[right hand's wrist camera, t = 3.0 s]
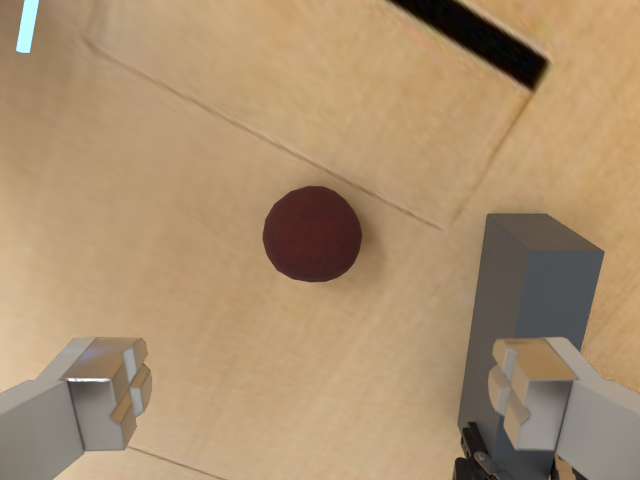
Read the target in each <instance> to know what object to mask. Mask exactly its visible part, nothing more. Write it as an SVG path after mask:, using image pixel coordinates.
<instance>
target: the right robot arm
mask: <svg viewBox="0 0 640 480" xmlns="http://www.w3.org/2000/svg"><path fill="white" fill-rule="evenodd" d="M38 2H39V0H25V2H24V8H23V14H22V20H21V25H20V31H19V37H18V43H17V49H16V50H17V51H19V52H25V53H29V52H30V47H31V41H32V35H33V30H34V24H35V19H36V13H37V7H38ZM147 355H148V352H147V347H146V342H145V341H144V340H143V339H142V338H115V337H99V338H98V337H78V338H74V339H72V340H71V341H70V342H69V343H68V345H67V346H66V347H65V348H64V349H63V350H62V351H61V352H60V353H59V354H58V355H57V357H56V358H55V359H54V360H53V361H52V362H51V363H50V364H49V365H48V366H47V367H46V368H45V370H44V371H43V372H42V373H41V374H40V375H39V376H38V377H37V378H36V379H35V380H27V381H25V382H23V383H21V384H19V385H17V386H15V387H13V388H10V389H8V390H6V391H4V392H2V393H0V480H52V479H54V478H55V477H56V476H57V475H59V474H60V473H61V472H62V471H63V470H65V469H66V468H67V467H68V466H70V465H71V464H72V463H73V462H74V461H76V460H77V459H78V458H79V457H81V456H82V455H83V454H84V451H114V450H125V449H126V447H127V445H128V443H129V441H130V439H131V437H132V435H133V433H134V431H135V429H136V427H137V425H136V419H135V418H136V417H138V416H139V415H141V414H142V413H143V412H145V409H146V407H147V405H148V403H149V400H150V395H151V391H152V377H151V370H150V369H149V368H148V367H147V366H146V365H145V364H144V363H143V362H144V360H145V358H146V357H147ZM492 355H493V357H494V358H495V360H496V362H497V363H496V364H495V365H494V366H493V367H492V368H491V369H490V370H489V378H488V389H489V396H490V400H491V403H492V405H493V407H494V410H495V412H497V413H498V414H499V415H501V416H502V417H504V418H505V419H504V425H503V427H504V429H505V431H506V433H507V435H508V437H509V439H510V441H511V443H512V445H513V447H514V448H515V450H525V451H556V454H557V455H558V456H560V457H561V458H562V459H563V460H565V461H566V462H567V463H568V464H569V465H571V466H572V467H573V468H574V469H575V470H577V471H578V472H579V473H580V474H582V475H583V476H584V477H585V478H586V479H588V480H640V393H638V392H636V391H634V390H632V389H629V388H627V387H625V386H623V385H621V384H619V383H617V382H615V381H613V380H605V379H604V378H603V377H602V376H601V375H600V374H599V373H598V372H597V371H596V370H595V368H594V367H593V366H592V365H591V364H590V363H589V362H588V361H587V360H586V359H585V358H584V356H583V355H582V354H581V353H580V352H579V351H578V350H577V349H576V348H575V347H574V346H573V345H572V343H571V342H570V341H569V340H568V339H566V338H564V337H541V338H508V339H496V341H495V343H494V346H493V352H492Z"/></svg>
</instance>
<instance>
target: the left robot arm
mask: <svg viewBox="0 0 640 480" xmlns="http://www.w3.org/2000/svg"><path fill="white" fill-rule="evenodd" d="M460 444H461V446H462V449H463V452H464V454H465V457H466V459H465V458H462V457H459V458H457V459H456V460H455V465H454V472H453V479H452V480H516V479H515V478H514V477H513V476H512V475H511V474H510V473H509V472H508V471H507V470H506V469H504V470H501V469H500V468H499V467H498V466H497V464H496V463H495V462H494V461H493V460H492V459H491V458H490V457H489V456H488V455H487V454H488V450H487V448H486V446H485V443H484V441H483V439H482V436H481V434H480V432H479V430H478V427H477V425H476V423H475V422H466V427H463V430H462V436H461V443H460ZM549 480H588V479H586V478H585V477H584V476H583V475H582V474H580V473H579V472H578V471H577V470H575V469H574V468H573V467H572V466H571V465H569V464H568V463H567V462H566V461H565V460H563V459H562V458H561V457H560V456H558V455H557V454H556V451H555V455H554V460H553V464H552V468H551V472H550V476H549Z"/></svg>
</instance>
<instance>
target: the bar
mask: <svg viewBox="0 0 640 480" xmlns="http://www.w3.org/2000/svg"><path fill="white" fill-rule="evenodd" d="M603 256H604V251H603V250H601V249H600V248H598V247H597V246H595V245H594V244H592V243H591V242H589V241H588V240H586V239H585V238H583V237H581V236H580V235H578V234H577V233H575V232H574V231H572V230H571V229H569V228H568V227H566V226H564V225H563V224H561V223H560V222H558V221H557V220H555V219H554V218H552V217H551V216H549V215H548V214H487V220H486V227H485V234H484V241H483V248H482V255H481V262H480V269H479V276H478V284H477V291H476V298H475V305H474V312H473V319H472V326H471V333H470V340H469V347H468V354H467V362H466V369H465V376H464V383H463V390H462V397H461V404H460V411H459V418H458V427H459V430H460V433H461V435H462V430H463V427H466V422H475V423H476V425H477V427H478V430H479V432H480V434H481V436H482V439H483V441H484V443H485V446H486V448H487V450H488V454H487V455H488V456H489V457H490V458H491V459H492V460H493V461H494V462H495V463H496V464H497V466H498V467H499V468H500V469H501V470H504V469H506V470H507V471H508V472H509V473H510V474H511V475H512V476H513V477H514V478H515V479H516V480H549V476H550V472H551V468H552V464H553V460H554V455H555V451H525V450H515V448H514V447H513V445H512V443H511V441H510V439H509V437H508V435H507V433H506V431H505V429H504V427H503V425H504V419H505V418H504V417H502V416H501V415H499V414H498V413H497V412H495V410H494V407H493V405H492V403H491V400H490V396H489V389H488V378H489V370H490V369H491V368H492V367H493V366H494V365H495V364H496V363H497V362H496V360H495V358H494V357H493V355H492V352H493V346H494V343H495V341H496V339H508V338H541V337H564V338H566V339H568V340H569V341H570V342H571V343H572V345H573V346H574V347H575V348H576V349H577V350H578V351H579V352H580V350H581V346H582V342H583V338H584V334H585V330H586V326H587V321H588V317H589V313H590V309H591V305H592V301H593V297H594V293H595V289H596V285H597V281H598V277H599V273H600V269H601V265H602V261H603Z"/></svg>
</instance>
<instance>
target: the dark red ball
mask: <svg viewBox="0 0 640 480" xmlns="http://www.w3.org/2000/svg"><path fill="white" fill-rule="evenodd" d="M361 239H362V232H361V227H360V223H359V221H358V218H357V216H356V215H355V213H354V211H353V209H352V208H351V207H350V205H349V204H348V203H347V202H346V200H345V199H344V198H342V197H341V196H340V195H339V194H337V193H336V192H335V191H333V190H330V189H328V188H325V187H318V186H307V187H304V188H301V189H297V190H294V191H291V192H289V193H288V194H287V195H286V196H284V197H283V198H282V199H280V200H279V201H278V202H276V203H275V204H274V206H273V207H272V209H271V211H270V213H269V214H268V216H267V218H266V219H265V225H264V231H263V242H264V246H265V250H266V254H267V256H268V258H269V259H270V261H271V262H272V264H273V265H274V266H275V268H276V269H277V271H279V272H281V273H283V274H285V275H286V276H288V277H290V278H292V279H295V280H301V281H306V282H326V281H329V280H332V279H335V278H338V277H339V276H341V275H342V274H344V273H345V272H347V271H348V269H349V268H350V267H351V266H352V265H353V264H354V262H355V260H356V258H357V255H358V253H359V250H360V245H361Z"/></svg>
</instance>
